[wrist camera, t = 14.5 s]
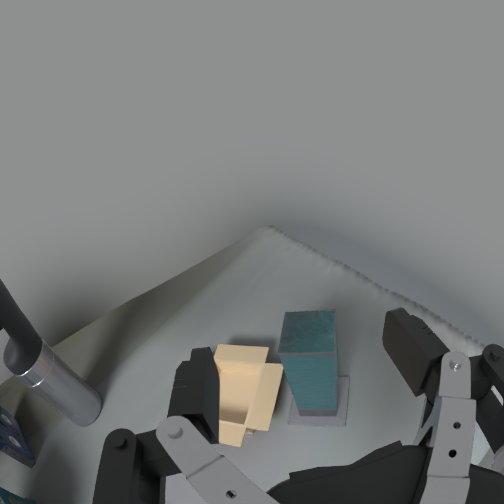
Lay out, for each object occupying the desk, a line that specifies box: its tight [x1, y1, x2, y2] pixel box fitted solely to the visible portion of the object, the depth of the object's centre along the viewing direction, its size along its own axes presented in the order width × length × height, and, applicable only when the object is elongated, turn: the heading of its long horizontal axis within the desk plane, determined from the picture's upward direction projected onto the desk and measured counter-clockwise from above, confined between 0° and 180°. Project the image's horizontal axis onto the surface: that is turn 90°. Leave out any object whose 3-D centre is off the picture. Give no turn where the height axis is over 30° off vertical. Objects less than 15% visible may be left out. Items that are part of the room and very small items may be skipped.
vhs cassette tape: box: [0, 406, 35, 468], centre depth 28 cm, size 18×3×10 cm, turn 60°
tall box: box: [277, 310, 339, 417], centre depth 29 cm, size 5×5×17 cm
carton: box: [214, 344, 284, 447], centre depth 36 cm, size 15×17×4 cm
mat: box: [288, 377, 349, 426], centre depth 33 cm, size 8×8×1 cm
